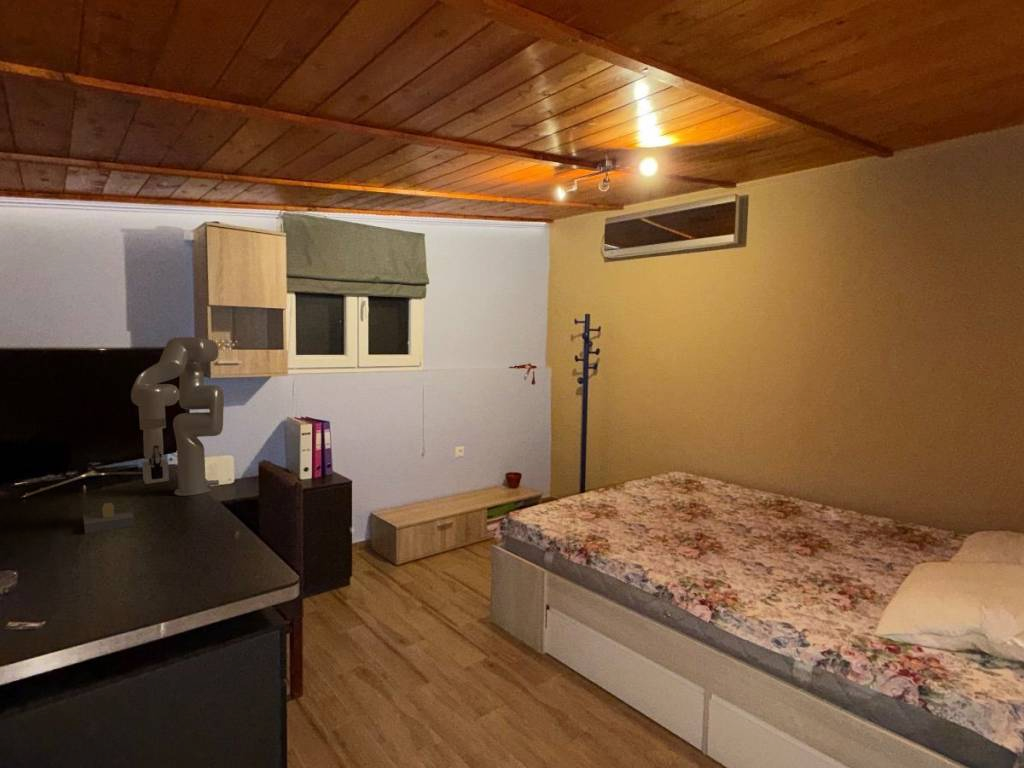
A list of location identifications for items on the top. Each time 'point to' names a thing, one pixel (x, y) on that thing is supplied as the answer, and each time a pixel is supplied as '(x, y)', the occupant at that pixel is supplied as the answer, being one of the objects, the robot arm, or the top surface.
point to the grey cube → (148, 476)
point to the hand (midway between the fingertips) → (155, 476)
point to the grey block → (108, 519)
